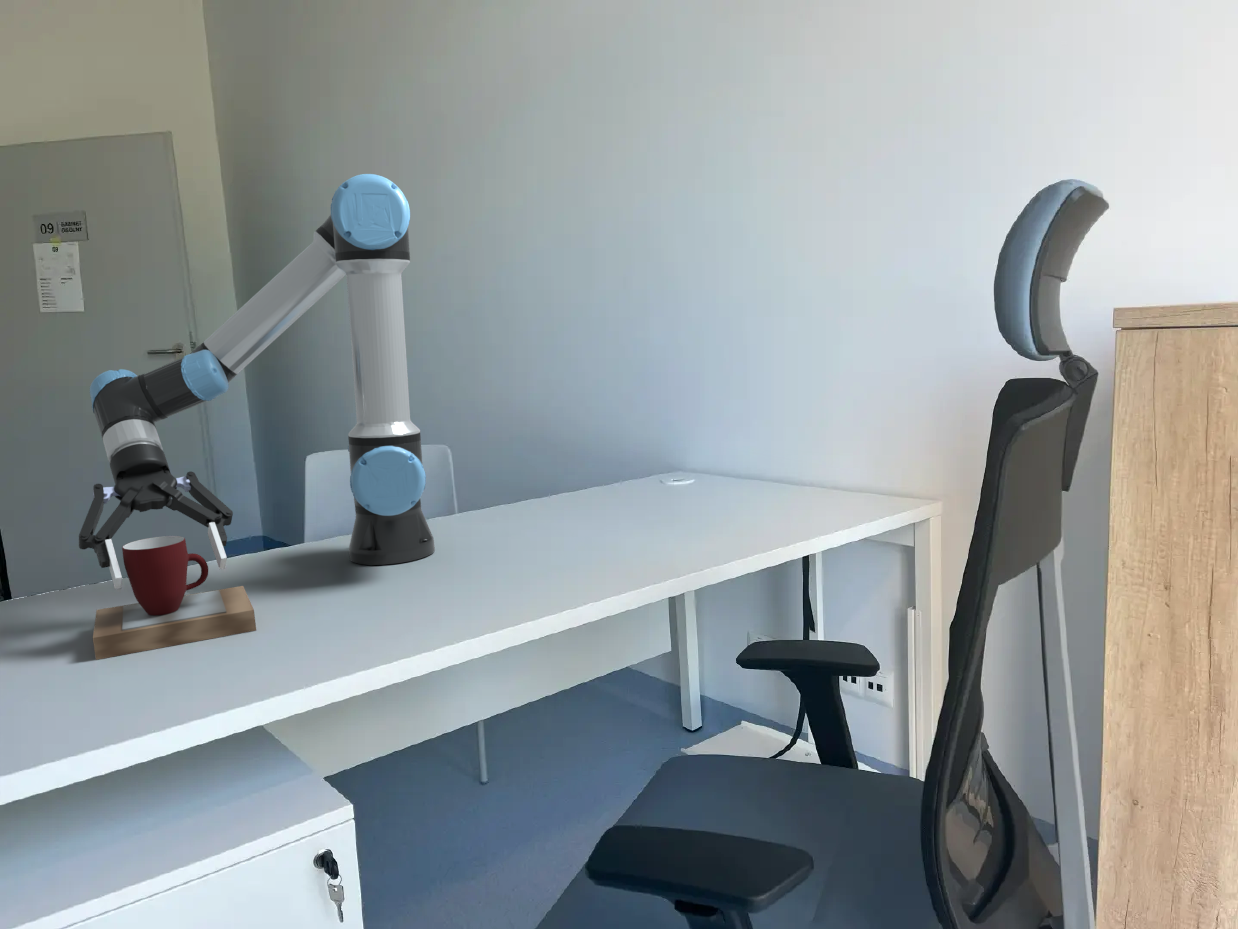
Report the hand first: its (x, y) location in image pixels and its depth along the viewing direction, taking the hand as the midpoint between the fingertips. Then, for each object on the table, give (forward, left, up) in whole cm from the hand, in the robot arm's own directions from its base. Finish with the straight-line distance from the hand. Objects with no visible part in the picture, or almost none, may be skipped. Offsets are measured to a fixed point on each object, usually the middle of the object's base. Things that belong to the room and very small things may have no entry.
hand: (172, 573), depth 134 cm
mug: (+1, -2, -6) cm, 6 cm away
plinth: (0, -3, -9) cm, 9 cm away
